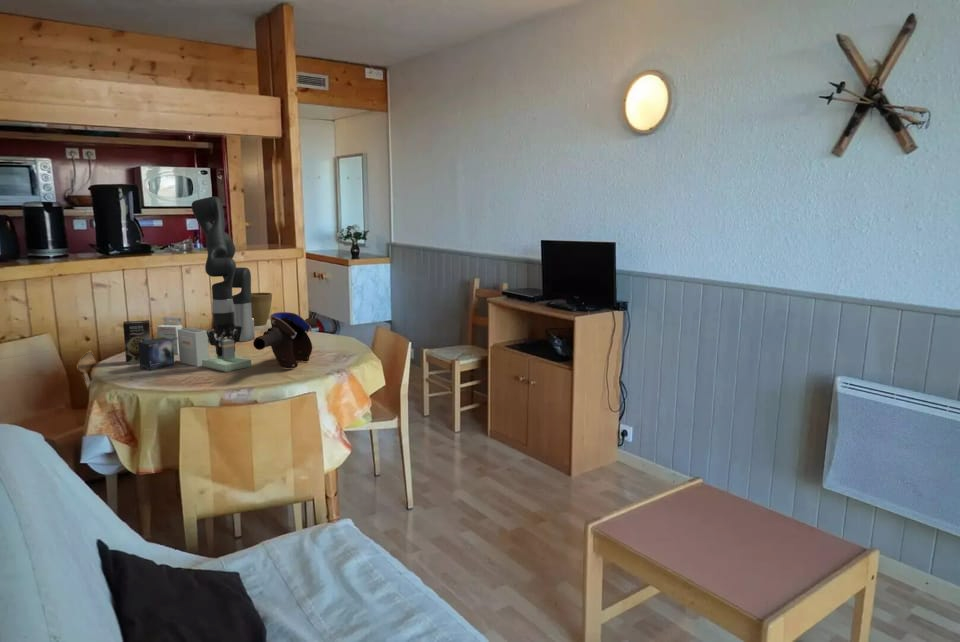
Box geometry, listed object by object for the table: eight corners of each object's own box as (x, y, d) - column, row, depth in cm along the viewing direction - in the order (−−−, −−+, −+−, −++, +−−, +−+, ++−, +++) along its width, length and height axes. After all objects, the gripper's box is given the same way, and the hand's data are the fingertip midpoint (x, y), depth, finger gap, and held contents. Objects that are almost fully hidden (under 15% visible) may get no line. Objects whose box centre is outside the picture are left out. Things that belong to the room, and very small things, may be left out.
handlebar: (276, 380, 225) (274, 324, 221) (243, 378, 227) (240, 323, 223) (328, 352, 268) (327, 306, 264) (300, 351, 270) (298, 304, 267)
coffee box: (126, 365, 244) (122, 323, 241) (126, 361, 250) (122, 321, 247) (152, 362, 248) (149, 322, 245) (152, 359, 254) (149, 319, 251)
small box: (149, 371, 236) (146, 343, 234) (139, 368, 239) (136, 341, 237) (175, 365, 244) (173, 338, 243) (165, 363, 248) (163, 336, 246)
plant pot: (278, 322, 337) (277, 292, 335) (265, 327, 323) (264, 296, 320) (251, 321, 339) (250, 291, 336) (237, 326, 325) (236, 295, 322)
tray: (227, 360, 252) (227, 354, 252) (251, 366, 244) (251, 359, 244) (202, 366, 243) (201, 359, 243) (226, 372, 235) (225, 365, 235)
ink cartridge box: (158, 354, 263) (155, 319, 260) (165, 351, 268) (162, 317, 265) (177, 354, 262) (175, 319, 259) (184, 352, 267) (182, 317, 264)
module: (227, 356, 246) (226, 338, 245) (235, 357, 244) (234, 339, 242) (217, 358, 243) (216, 339, 241) (224, 360, 240) (223, 341, 239)
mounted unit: (193, 359, 255) (190, 326, 252) (210, 363, 248) (208, 329, 246) (179, 362, 250) (176, 328, 247) (196, 366, 243) (194, 332, 241)
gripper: (233, 307, 248) (236, 350, 251) (200, 312, 236) (203, 356, 239) (245, 309, 244) (248, 352, 247) (212, 314, 232) (214, 359, 235)
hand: (225, 354), depth 243 cm, fingers closed on module, 4 cm apart
